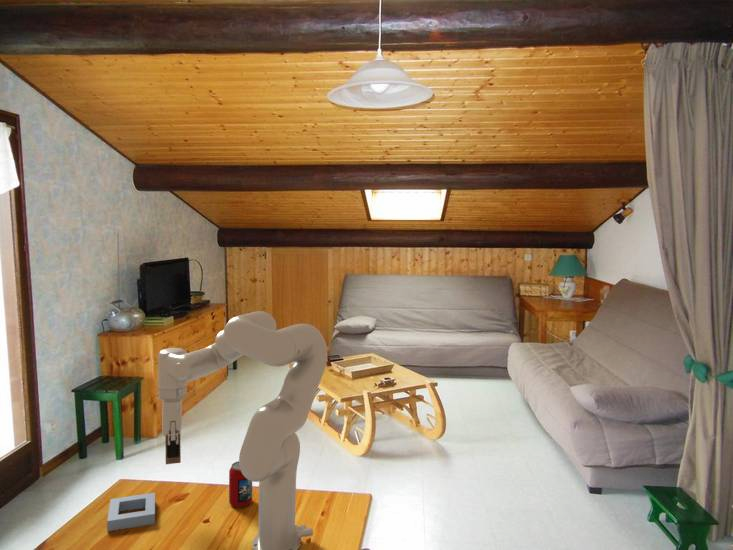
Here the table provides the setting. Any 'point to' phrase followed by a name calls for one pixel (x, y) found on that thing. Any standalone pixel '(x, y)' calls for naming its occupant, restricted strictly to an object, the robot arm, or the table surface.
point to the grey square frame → (133, 518)
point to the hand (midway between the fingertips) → (172, 452)
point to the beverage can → (239, 487)
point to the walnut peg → (178, 459)
